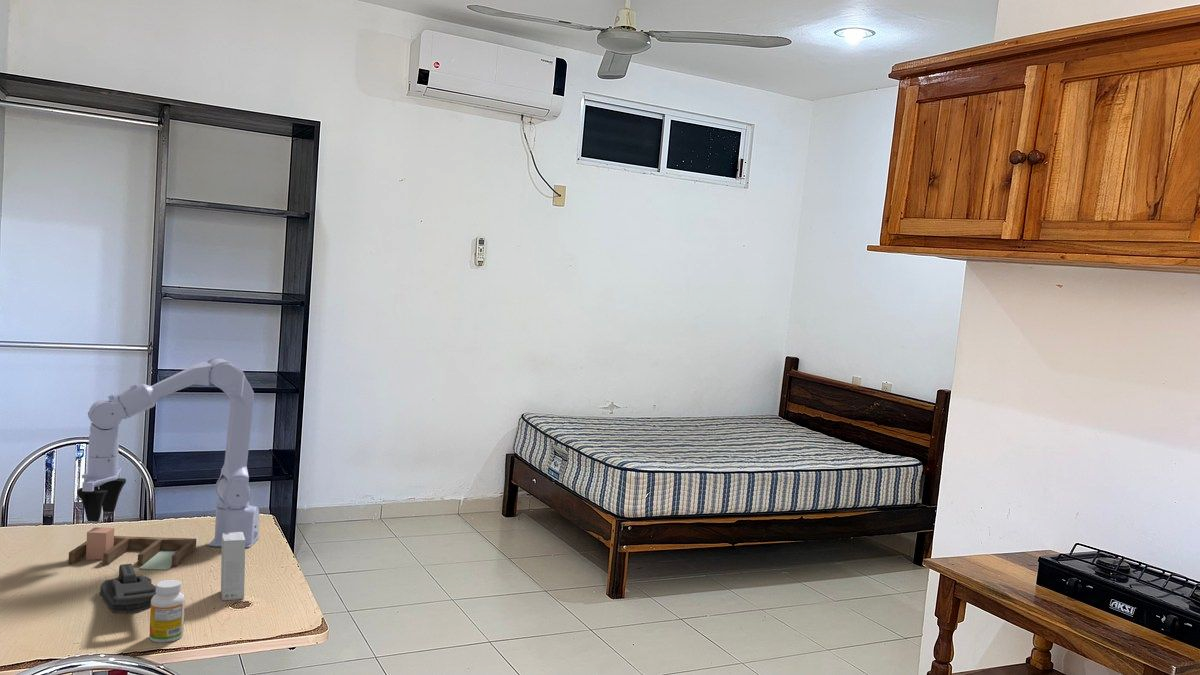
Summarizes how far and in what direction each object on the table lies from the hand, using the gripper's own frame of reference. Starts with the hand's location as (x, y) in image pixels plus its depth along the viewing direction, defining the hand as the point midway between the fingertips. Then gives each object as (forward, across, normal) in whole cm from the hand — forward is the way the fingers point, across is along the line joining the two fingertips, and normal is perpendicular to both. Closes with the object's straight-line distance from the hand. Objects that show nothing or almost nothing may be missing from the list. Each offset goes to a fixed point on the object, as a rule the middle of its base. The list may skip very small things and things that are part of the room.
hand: (101, 516), depth 192 cm
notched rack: (+9, 0, +7) cm, 11 cm away
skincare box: (+9, +21, +34) cm, 41 cm away
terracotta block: (+9, 0, 0) cm, 9 cm away
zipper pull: (+9, +29, +18) cm, 36 cm away
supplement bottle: (+9, +42, +29) cm, 52 cm away
